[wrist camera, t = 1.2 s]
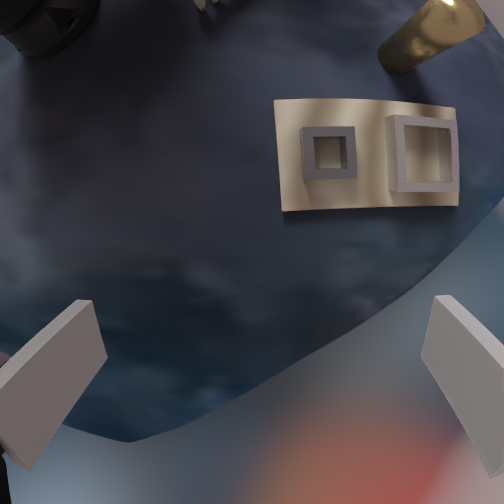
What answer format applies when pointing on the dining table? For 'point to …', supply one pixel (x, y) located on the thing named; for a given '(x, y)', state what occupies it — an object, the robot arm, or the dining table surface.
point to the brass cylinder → (430, 33)
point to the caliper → (203, 3)
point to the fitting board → (365, 154)
